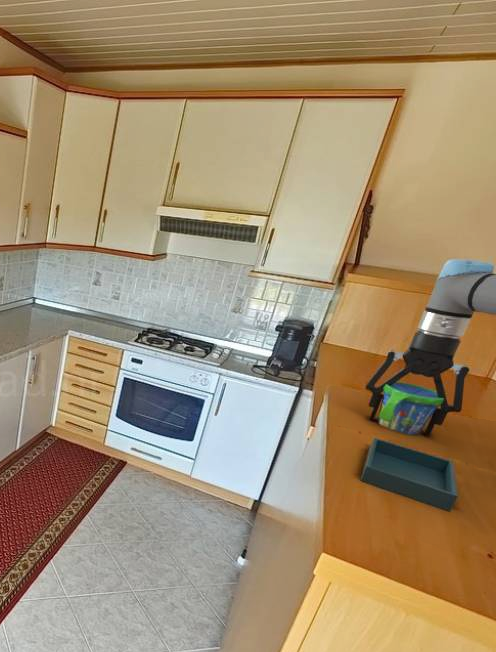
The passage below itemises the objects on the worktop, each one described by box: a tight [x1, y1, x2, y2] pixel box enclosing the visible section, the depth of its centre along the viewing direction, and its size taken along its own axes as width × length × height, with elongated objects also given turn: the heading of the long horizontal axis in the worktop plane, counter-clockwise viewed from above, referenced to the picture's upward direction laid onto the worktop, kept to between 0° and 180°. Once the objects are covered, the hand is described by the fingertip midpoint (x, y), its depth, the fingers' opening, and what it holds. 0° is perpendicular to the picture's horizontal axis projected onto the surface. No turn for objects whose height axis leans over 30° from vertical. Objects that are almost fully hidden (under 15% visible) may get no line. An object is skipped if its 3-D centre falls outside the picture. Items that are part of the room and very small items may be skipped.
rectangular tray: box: [359, 437, 459, 513], centre depth 89 cm, size 12×18×3 cm
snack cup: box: [377, 381, 444, 435], centre depth 110 cm, size 16×10×10 cm
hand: (397, 428), depth 112 cm, fingers closed on snack cup, 9 cm apart
